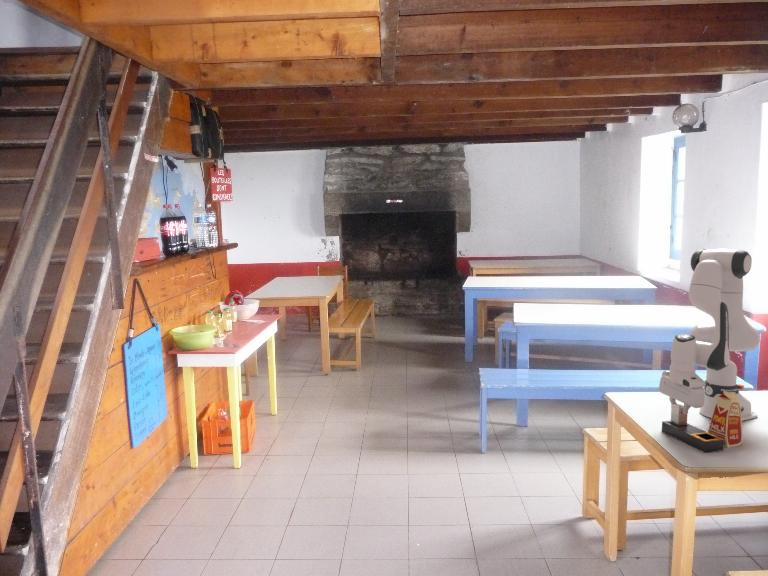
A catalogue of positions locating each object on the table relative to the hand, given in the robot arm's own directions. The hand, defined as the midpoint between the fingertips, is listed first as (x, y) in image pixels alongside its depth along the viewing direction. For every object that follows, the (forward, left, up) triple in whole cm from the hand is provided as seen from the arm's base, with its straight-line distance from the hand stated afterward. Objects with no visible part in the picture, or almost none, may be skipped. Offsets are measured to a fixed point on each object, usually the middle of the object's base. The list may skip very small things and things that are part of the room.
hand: (679, 411), depth 232 cm
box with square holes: (+1, +7, -9) cm, 12 cm away
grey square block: (0, 0, -5) cm, 5 cm away
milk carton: (-11, +11, -9) cm, 18 cm away
